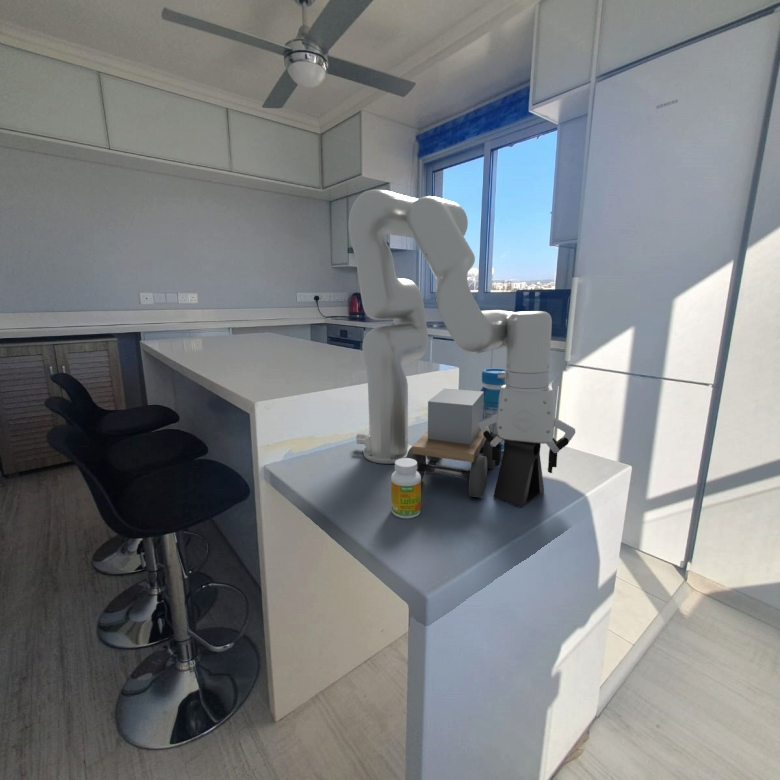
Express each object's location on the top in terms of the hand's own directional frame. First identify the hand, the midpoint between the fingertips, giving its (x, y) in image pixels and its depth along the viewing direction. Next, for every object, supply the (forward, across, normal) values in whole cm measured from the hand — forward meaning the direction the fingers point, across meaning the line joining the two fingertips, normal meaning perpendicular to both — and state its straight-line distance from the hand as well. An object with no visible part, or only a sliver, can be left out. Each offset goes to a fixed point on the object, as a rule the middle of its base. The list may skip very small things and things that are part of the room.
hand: (523, 466), depth 79 cm
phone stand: (+6, -1, 0) cm, 6 cm away
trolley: (+6, -15, +4) cm, 16 cm away
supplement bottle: (+6, -19, -14) cm, 24 cm away
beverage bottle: (+6, -10, +24) cm, 27 cm away
